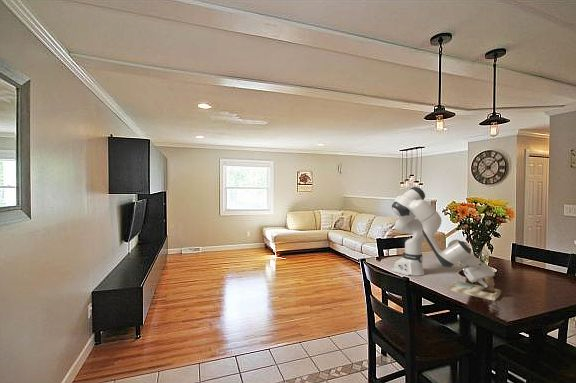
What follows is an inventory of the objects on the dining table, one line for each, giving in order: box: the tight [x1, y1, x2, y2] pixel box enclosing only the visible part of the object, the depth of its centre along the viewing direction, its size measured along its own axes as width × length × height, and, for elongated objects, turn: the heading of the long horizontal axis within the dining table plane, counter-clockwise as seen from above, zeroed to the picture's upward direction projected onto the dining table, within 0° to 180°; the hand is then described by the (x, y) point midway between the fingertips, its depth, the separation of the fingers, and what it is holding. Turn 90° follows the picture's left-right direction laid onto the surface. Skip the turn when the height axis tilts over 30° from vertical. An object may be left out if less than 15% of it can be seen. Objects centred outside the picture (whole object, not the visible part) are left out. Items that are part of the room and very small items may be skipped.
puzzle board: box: [448, 280, 502, 302], centre depth 161 cm, size 22×14×2 cm, turn 42°
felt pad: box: [455, 281, 474, 289], centre depth 165 cm, size 8×8×1 cm
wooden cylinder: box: [483, 277, 495, 294], centre depth 156 cm, size 4×4×10 cm
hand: (490, 286), depth 155 cm, fingers closed on wooden cylinder, 4 cm apart
